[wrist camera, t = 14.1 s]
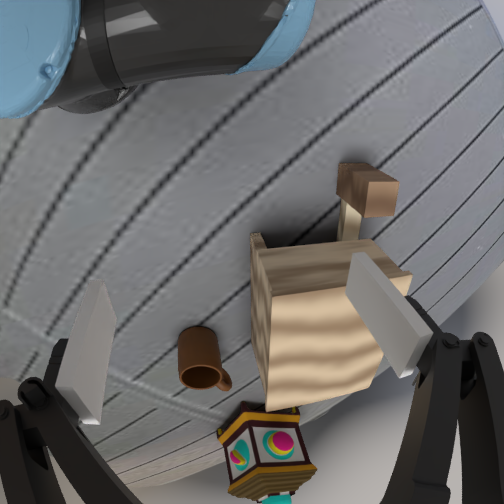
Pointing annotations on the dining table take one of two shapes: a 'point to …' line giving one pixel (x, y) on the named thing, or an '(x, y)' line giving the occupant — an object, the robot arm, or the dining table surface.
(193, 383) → the mug
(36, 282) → the dining table surface
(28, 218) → the dining table surface
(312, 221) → the dining table surface
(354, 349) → the cabinet
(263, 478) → the decorative lantern
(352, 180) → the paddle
